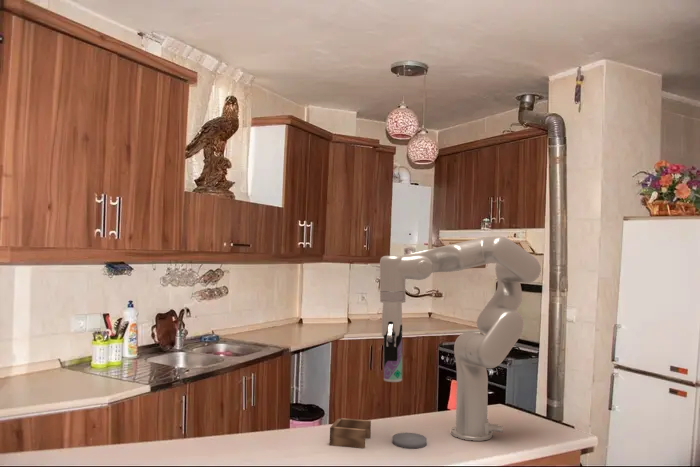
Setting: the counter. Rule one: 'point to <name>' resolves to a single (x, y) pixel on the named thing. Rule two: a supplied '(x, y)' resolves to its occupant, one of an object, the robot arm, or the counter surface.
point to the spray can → (393, 367)
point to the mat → (409, 440)
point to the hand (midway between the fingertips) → (393, 358)
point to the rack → (350, 432)
